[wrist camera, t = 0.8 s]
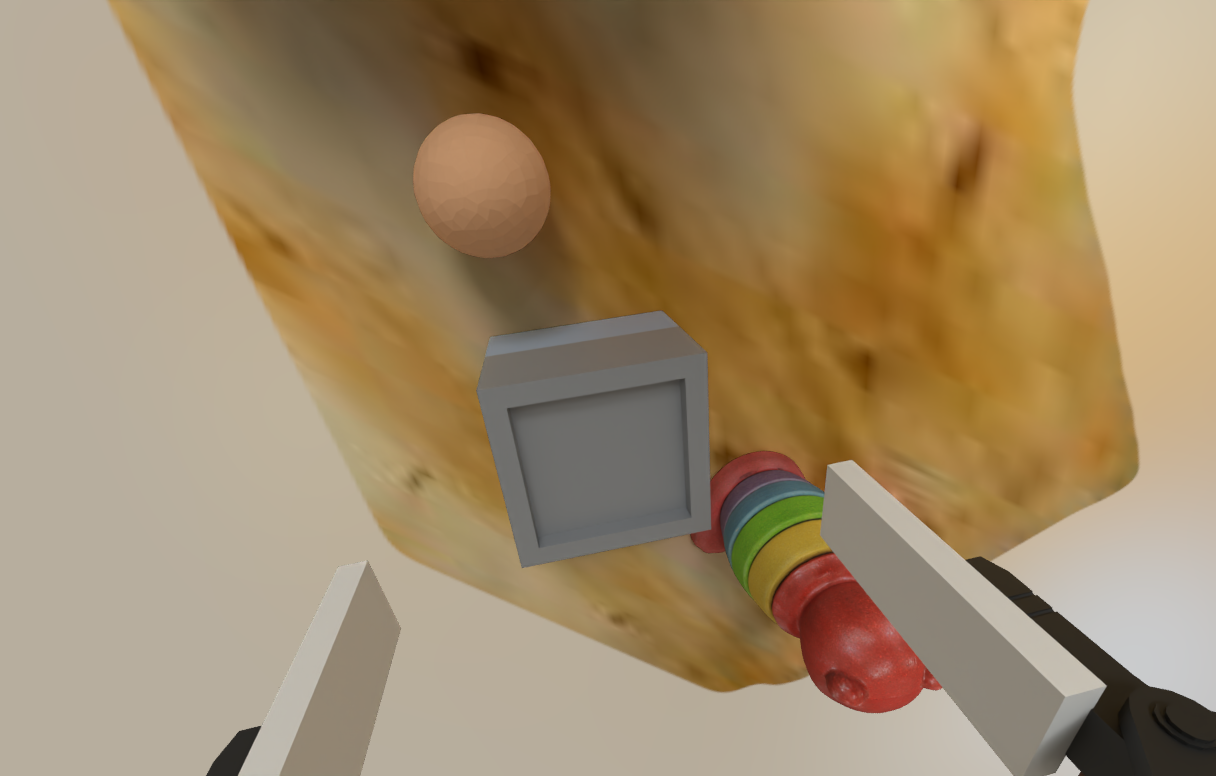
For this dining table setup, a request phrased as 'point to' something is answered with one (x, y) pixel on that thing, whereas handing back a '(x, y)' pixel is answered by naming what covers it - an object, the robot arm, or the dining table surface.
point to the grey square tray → (598, 434)
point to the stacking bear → (808, 584)
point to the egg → (481, 185)
